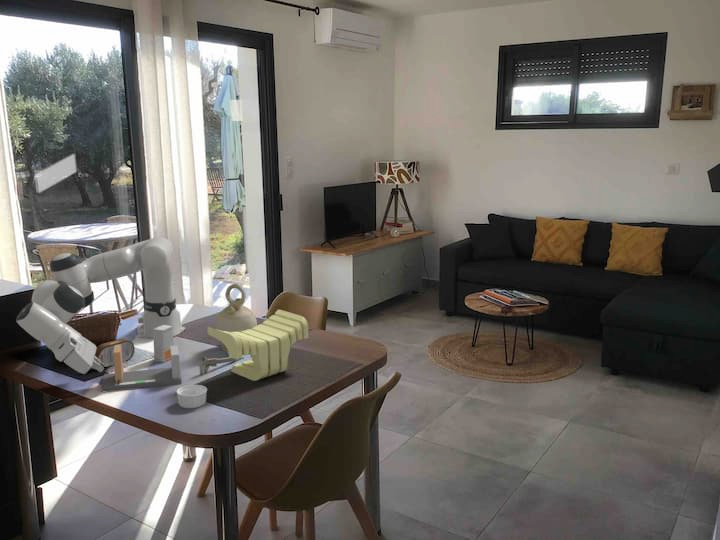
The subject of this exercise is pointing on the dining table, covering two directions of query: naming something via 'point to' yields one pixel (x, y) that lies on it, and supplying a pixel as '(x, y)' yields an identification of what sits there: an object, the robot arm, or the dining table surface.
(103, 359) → the tin
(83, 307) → the robot arm
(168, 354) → the skincare box
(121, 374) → the paddle
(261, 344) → the slatted curved stool
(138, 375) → the gauge board
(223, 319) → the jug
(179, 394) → the ramekin
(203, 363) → the caliper
